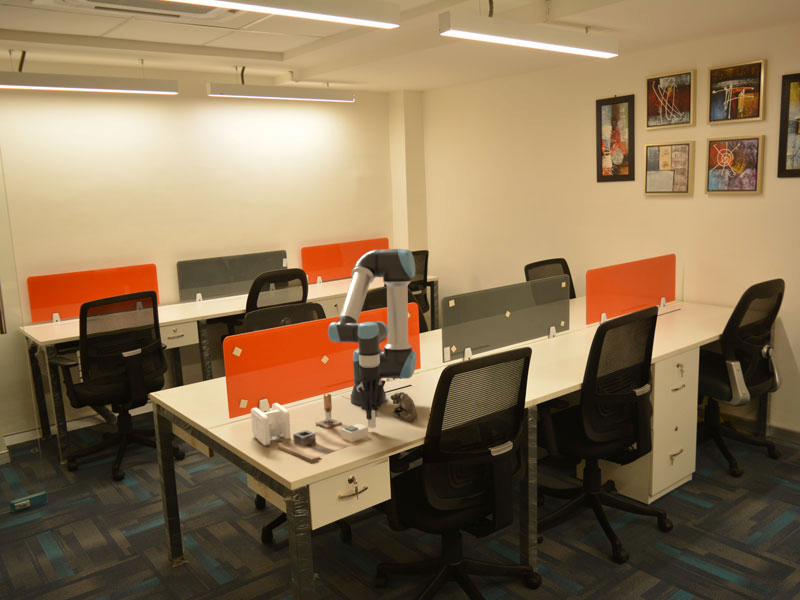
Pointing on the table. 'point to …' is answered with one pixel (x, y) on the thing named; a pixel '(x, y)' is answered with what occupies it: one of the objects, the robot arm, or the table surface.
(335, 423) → the tool rest
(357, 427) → the block
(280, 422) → the cable organizer
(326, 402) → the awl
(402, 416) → the figurine
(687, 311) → the table surface
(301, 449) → the plywood panel
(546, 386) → the table surface
